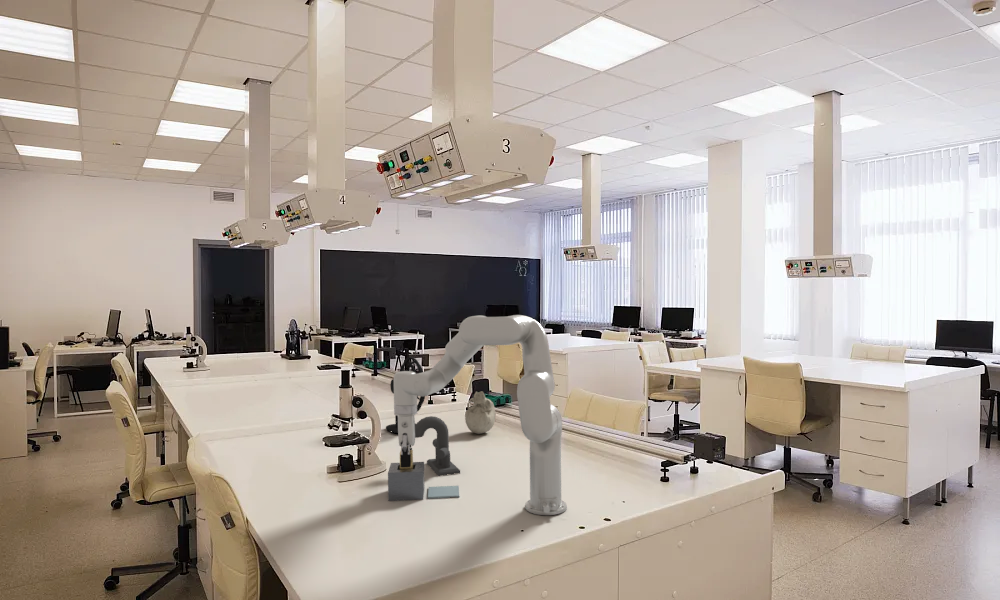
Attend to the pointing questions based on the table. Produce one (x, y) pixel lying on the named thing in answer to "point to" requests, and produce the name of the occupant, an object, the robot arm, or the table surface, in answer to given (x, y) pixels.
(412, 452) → the brass peg
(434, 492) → the rubber pad
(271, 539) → the table surface
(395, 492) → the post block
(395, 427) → the desk fan
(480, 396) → the skull
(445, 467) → the faucet
